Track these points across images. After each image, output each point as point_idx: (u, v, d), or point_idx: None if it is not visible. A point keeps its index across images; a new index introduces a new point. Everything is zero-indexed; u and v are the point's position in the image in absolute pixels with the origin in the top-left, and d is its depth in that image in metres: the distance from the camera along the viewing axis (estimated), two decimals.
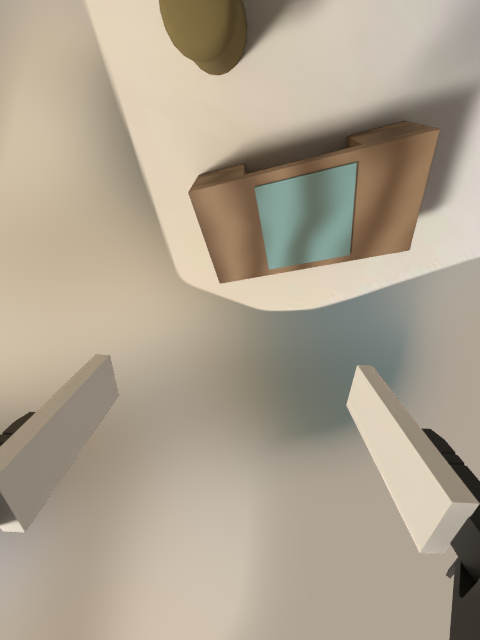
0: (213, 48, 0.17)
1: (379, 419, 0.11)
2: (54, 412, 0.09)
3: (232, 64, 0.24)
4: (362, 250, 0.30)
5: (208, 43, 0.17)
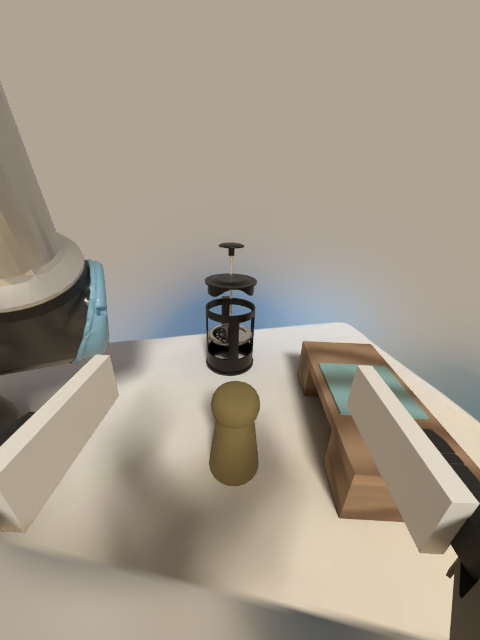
0: (256, 392, 0.26)
1: (379, 419, 0.11)
2: (54, 412, 0.09)
3: None
4: (378, 361, 0.39)
5: (253, 392, 0.26)
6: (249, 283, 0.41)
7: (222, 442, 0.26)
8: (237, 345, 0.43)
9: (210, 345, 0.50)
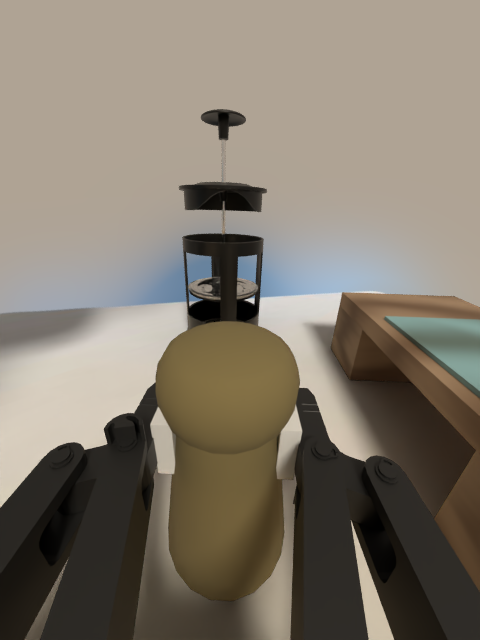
0: (287, 345, 0.09)
1: None
2: None
3: None
4: None
5: (281, 343, 0.09)
6: None
7: (191, 490, 0.09)
8: (235, 298, 0.26)
9: (194, 308, 0.33)
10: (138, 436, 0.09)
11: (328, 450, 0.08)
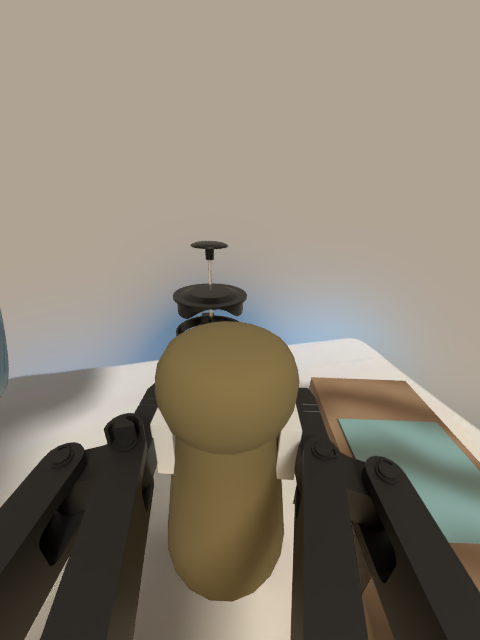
0: (286, 345, 0.09)
1: None
2: None
3: None
4: (424, 412, 0.27)
5: (280, 343, 0.09)
6: (236, 299, 0.29)
7: (190, 490, 0.09)
8: None
9: None
10: (138, 436, 0.09)
11: (328, 450, 0.08)
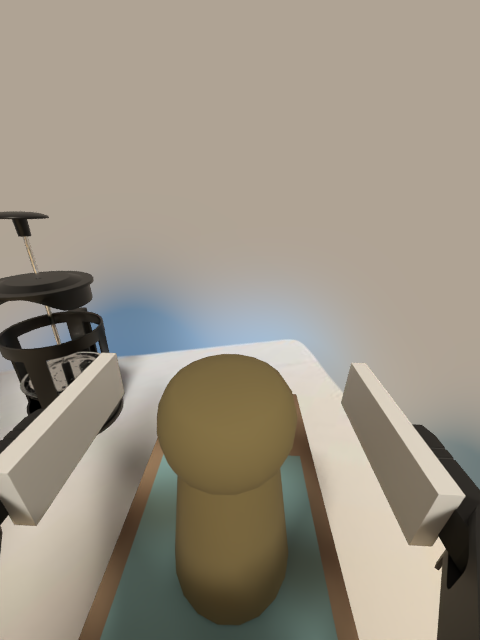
0: (284, 380, 0.09)
1: (371, 415, 0.11)
2: (63, 408, 0.10)
3: None
4: None
5: (278, 379, 0.09)
6: (60, 288, 0.22)
7: (194, 523, 0.09)
8: None
9: None
10: None
11: None
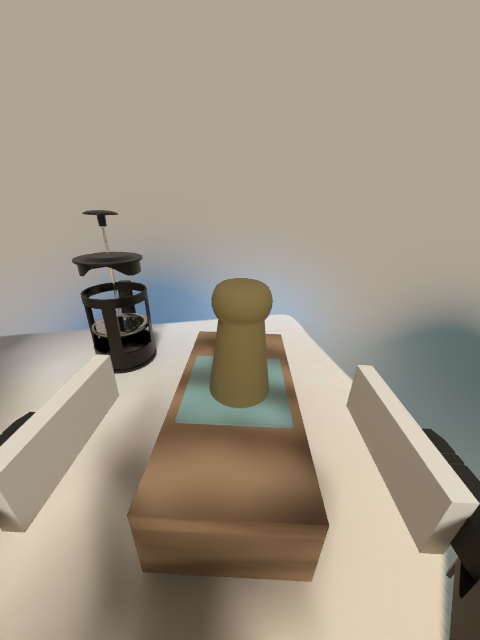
0: (267, 286, 0.21)
1: (379, 419, 0.11)
2: (54, 412, 0.09)
3: None
4: (276, 354, 0.31)
5: (264, 284, 0.21)
6: (125, 260, 0.34)
7: (226, 348, 0.21)
8: (119, 336, 0.36)
9: (105, 338, 0.43)
10: None
11: None
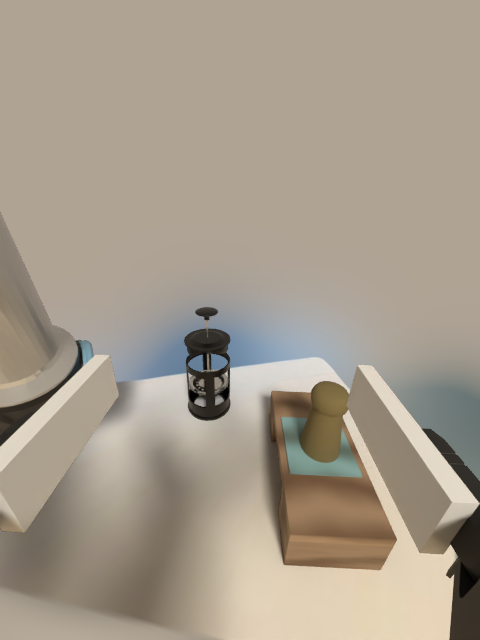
0: (345, 389, 0.34)
1: (379, 418, 0.11)
2: (54, 412, 0.09)
3: None
4: None
5: (344, 389, 0.34)
6: (223, 343, 0.47)
7: (321, 428, 0.34)
8: (213, 395, 0.49)
9: (192, 390, 0.56)
10: None
11: None
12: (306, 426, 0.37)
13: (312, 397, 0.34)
